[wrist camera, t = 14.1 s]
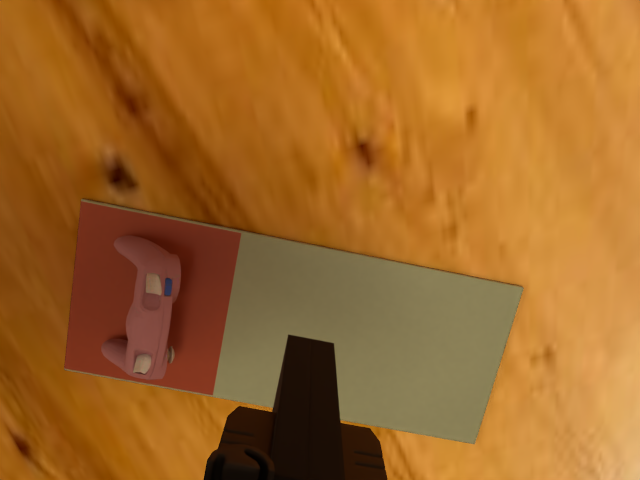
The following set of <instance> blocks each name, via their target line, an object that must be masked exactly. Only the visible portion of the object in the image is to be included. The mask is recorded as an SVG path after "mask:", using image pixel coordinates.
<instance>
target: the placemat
mask: <svg viewBox="0 0 640 480" xmlns="http://www.w3.org/2000/svg"><path fill="white" fill-rule="evenodd" d="M128 235H131V236H136V237H141V238H144V239H147V240H149V241H151V242H153V243H155V244H157V245H158V246H160V247H161V248H163V249H164V250H166V251H168V252H169V253H170V254H175V255H177V256H178V257H179V260H180V265H181V282H180V289H179V293H178V296H177V299H176V301H175V302H174V303H172V312H171V321H170V328H169V335H168V340H167V345H168V350H169V347H170V346H172V348H173V349H174V352H175V356H174V359H173V361H172V363H169V361H167V368H166V372H165V375H164V377H163V378H162V379H154V380H146V379H141V378H136V377H133V376H130V375H128V374H127V373H126V372H125V371H123V370H122V369H121V368H120V367H118V366H117V365H115V364H114V363H112V362H111V361H109V360H108V359H107V358H106V357H105V356H104V355H103V353H102V351H101V346H102V344H103V343H104V342H105V341H107V340H109V339H123V340H127V341H128V337H127V333H126V319H127V315H128V312H129V310H130V307H131V305H132V303H133V300H134V291H135V284H136V278H137V272H138V269H137V267H136V266H135V265H134V264H133V263H132V262H131V261H130V260H129V259H127V258H126V257H124V256H123V255H121V254H120V253H119V252H118V251H117V250H116V248H115V246H114V242H115V240H116V239H117V238H119V237H122V236H128ZM523 289H524V288H523V287H522V286H518V285H513V284H508V283H503V282H498V281H493V280H488V279H483V278H478V277H473V276H468V275H463V274H458V273H453V272H448V271H443V270H438V269H433V268H428V267H423V266H418V265H413V264H408V263H403V262H398V261H393V260H388V259H383V258H378V257H373V256H368V255H363V254H358V253H353V252H348V251H343V250H338V249H333V248H328V247H323V246H318V245H313V244H308V243H303V242H298V241H293V240H288V239H283V238H278V237H273V236H268V235H263V234H258V233H253V232H248V231H243V230H238V229H233V228H228V227H223V226H218V225H213V224H208V223H203V222H198V221H193V220H188V219H183V218H178V217H173V216H168V215H163V214H158V213H153V212H148V211H143V210H138V209H133V208H128V207H123V206H118V205H113V204H108V203H103V202H98V201H93V200H87V199H82V200H81V208H80V218H79V228H78V237H77V247H76V257H75V267H74V277H73V287H72V297H71V307H70V317H69V327H68V337H67V347H66V356H65V366H64V370H67V371H73V372H79V373H84V374H90V375H95V376H101V377H106V378H112V379H117V380H123V381H128V382H134V383H139V384H145V385H150V386H156V387H161V388H167V389H172V390H178V391H183V392H189V393H194V394H200V395H206V396H211V397H217V398H222V399H228V400H233V401H239V402H244V403H250V404H255V405H261V406H266V407H272V408H273V405H274V401H275V396H276V391H277V386H278V381H279V377H280V372H281V367H282V362H283V357H284V353H285V348H286V343H287V338H288V334H289V335H294V336H299V337H305V338H310V339H315V340H321V341H326V342H331V343H334V349H335V361H336V373H337V386H338V398H339V410H340V420H344V421H349V422H355V423H360V424H366V425H371V426H377V427H382V428H388V429H393V430H399V431H404V432H410V433H415V434H421V435H426V436H432V437H437V438H443V439H448V440H454V441H459V442H465V443H471V444H475V441H476V438H477V435H478V432H479V429H480V425H481V422H482V419H483V416H484V413H485V410H486V406H487V403H488V400H489V397H490V394H491V390H492V387H493V384H494V381H495V378H496V374H497V371H498V368H499V365H500V362H501V359H502V355H503V352H504V349H505V346H506V343H507V339H508V336H509V333H510V330H511V327H512V324H513V320H514V317H515V314H516V311H517V308H518V304H519V301H520V298H521V295H522V292H523Z"/></svg>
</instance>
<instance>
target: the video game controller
mask: <svg viewBox="0 0 640 480" xmlns="http://www.w3.org/2000/svg"><path fill="white" fill-rule="evenodd" d="M114 246H115V248H116V250H117V251H118V252H119V253H120V254H121V255H123V256H124V257H126V258H127V259H129V260H130V261H131V262H132V263H133V264H134V265H135V266H136V267H137V269H138V272H137V278H136V284H135V291H134V300H133V303H132V305H131V307H130V310H129V312H128V315H127V319H126V333H127V337H128V341H127V340H123V339H109V340H107V341H105V342H104V343H103V344H102V346H101V351H102V353H103V355H104V356H105V357H106V358H107V359H108V360H109V361H111V362H112V363H114V364H115V365H117V366H118V367H120V368H121V369H122V370H123V371H125V372H126V373H127V374H128V375H130V376H133V377H136V378H141V379H146V380H154V379H162V378H163V377H164V375H165V372H166V368H167V361H169V363H172V361H173V359H174V356H175V352H174V349H173V348H172V346H170V347H169V350H168V345H167V340H168V335H169V328H170V321H171V312H172V303H174V302H175V301H176V299H177V296H178V293H179V289H180V282H181V265H180V260H179V257H178V256H177V255H175V254H170V253H169V252H168V251H166V250H164V249H163V248H161V247H160V246H158V245H157V244H155V243H153V242H151V241H149V240H147V239H144V238H141V237H136V236H131V235H128V236H122V237H119V238H117V239H116V240H115V242H114Z"/></svg>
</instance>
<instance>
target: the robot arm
mask: <svg viewBox="0 0 640 480" xmlns="http://www.w3.org/2000/svg"><path fill="white" fill-rule="evenodd" d="M382 456H383V455H382V450H381V445H380V441H379V440H378V439H377V437H376V436H375V435H374V433H373V432H372V431H371V429H370V428H365V427H359V426H354V425H348V424H343V423H340V410H339V398H338V386H337V373H336V361H335V349H334V343H331V342H326V341H321V340H315V339H310V338H305V337H299V336H294V335H289V334H288V338H287V343H286V348H285V353H284V357H283V362H282V367H281V372H280V377H279V381H278V386H277V391H276V396H275V401H274V405H273V411H272V412H269V411H263V410H258V409H252V408H247V407H241V406H239V407H237V408H236V409H235V410H234V411H233V412H232V413H231V414H229V415H228V417H227V420H226V424H225V427H224V431H223V434H222V437H221V441H220V444H219V447H218V449H217V450H215V451H213V452H212V454H211V455H210V457H209V458H208V460H207V464H206V470H205V476H204V480H387V475H386V470H385V465H384V460H383V458H382Z"/></svg>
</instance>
